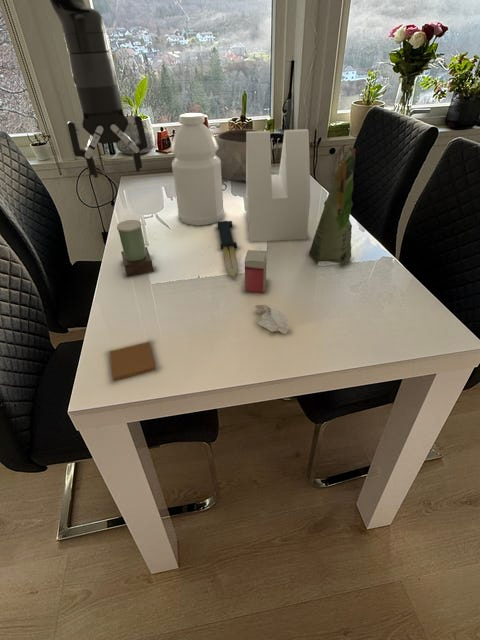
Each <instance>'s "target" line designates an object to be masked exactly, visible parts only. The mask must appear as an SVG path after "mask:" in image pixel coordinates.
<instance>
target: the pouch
mask: <svg viewBox="0 0 480 640" xmlns="http://www.w3.org/2000/svg"><path fill="white" fill-rule="evenodd" d="M356 151H357V150H356V148H355V147H352V146H350V147H349V148H348V149H347V152H346V153H345V154H344V156H343V157H342V158H341V159H340V160H339V162H338V163H337V165H336V168H335V170H334V172H333V173H332V174H333V175H332V180H331V183H330V187H329V191H328V195H327V197H326V199H325V200H324V202H323V205H324V206H323V210H322V212H321V215H320V218H319V221H318V225H317V227H316V231H315V233H314V235H313V240H312V243H311V247H310V249H309V251H308V255H309V256H310V257H312V258H313V259H314V261H315V264H317V263H324V262H331V263H337V264H340V265H341V266H346V265H347V264H348V263H349V262H350V260H351V258H352V234H353V233H352V228H353V225H352V223H351V220H350V217H351V216H350V215H351V211H352V208H353V206H354V202H353V199H352V196H353V191H354V187H355V186H354V171H355V163H356Z"/></svg>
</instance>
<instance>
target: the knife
mask: <svg viewBox="0 0 480 640" xmlns="http://www.w3.org/2000/svg"><path fill="white" fill-rule="evenodd" d="M216 223H217V230H218V231H219V237H220V238H219V239H220V250H222V252H223V259H224V264H225V270H226V272H227V274H228V275H229V276H230V277H231V278H233V279H235V277H236V276H237V274H238V272H239V265H238V260H237V256H236V251H235V250H236V249H238V243H237V242H236V241H234V238H233V234H232V230H231V229H233V221H232V220H219V221H217V222H216Z"/></svg>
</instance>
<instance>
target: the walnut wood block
mask: <svg viewBox="0 0 480 640" xmlns="http://www.w3.org/2000/svg"><path fill="white" fill-rule="evenodd" d="M145 248H146V252H147V256H146V257H145V258H144V259H141V260H138V261H129V260H126V259H125V255H124V251H123V250H122V251H120V252H121V258H122V262H123V266H124V270H125V274H126V277H133V276H138V275H143V274H147V273H153V272H154V271H155V269H154V265H153V260H152V257H151V254H150V252H149V249H148V246H145Z"/></svg>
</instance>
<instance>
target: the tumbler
mask: <svg viewBox="0 0 480 640" xmlns="http://www.w3.org/2000/svg"><path fill="white" fill-rule="evenodd" d="M115 228H116V229H117V232H118V235H119V240H120V243H121V247H122V251H124V255H125V259H126V260H129V261H138V260H141V259H144V258H145V257H146V256H147V252H146V248H145V247H146V243H145V238H144V233H143V230H142V221H140V220H137V219H127V220H123V221H120V222H119V223H117V224H116V226H115Z"/></svg>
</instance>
